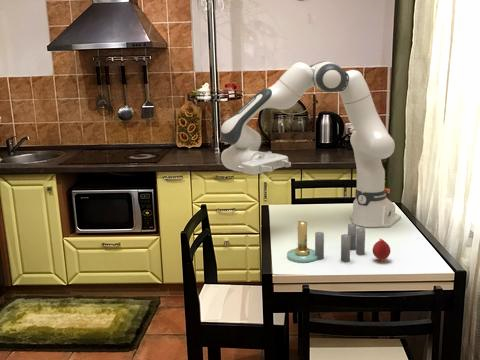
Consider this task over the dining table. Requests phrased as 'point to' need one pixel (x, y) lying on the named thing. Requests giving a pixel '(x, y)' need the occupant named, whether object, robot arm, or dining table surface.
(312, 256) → the saucer
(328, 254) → the dining table surface
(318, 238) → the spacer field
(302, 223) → the bolt
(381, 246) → the pomegranate
